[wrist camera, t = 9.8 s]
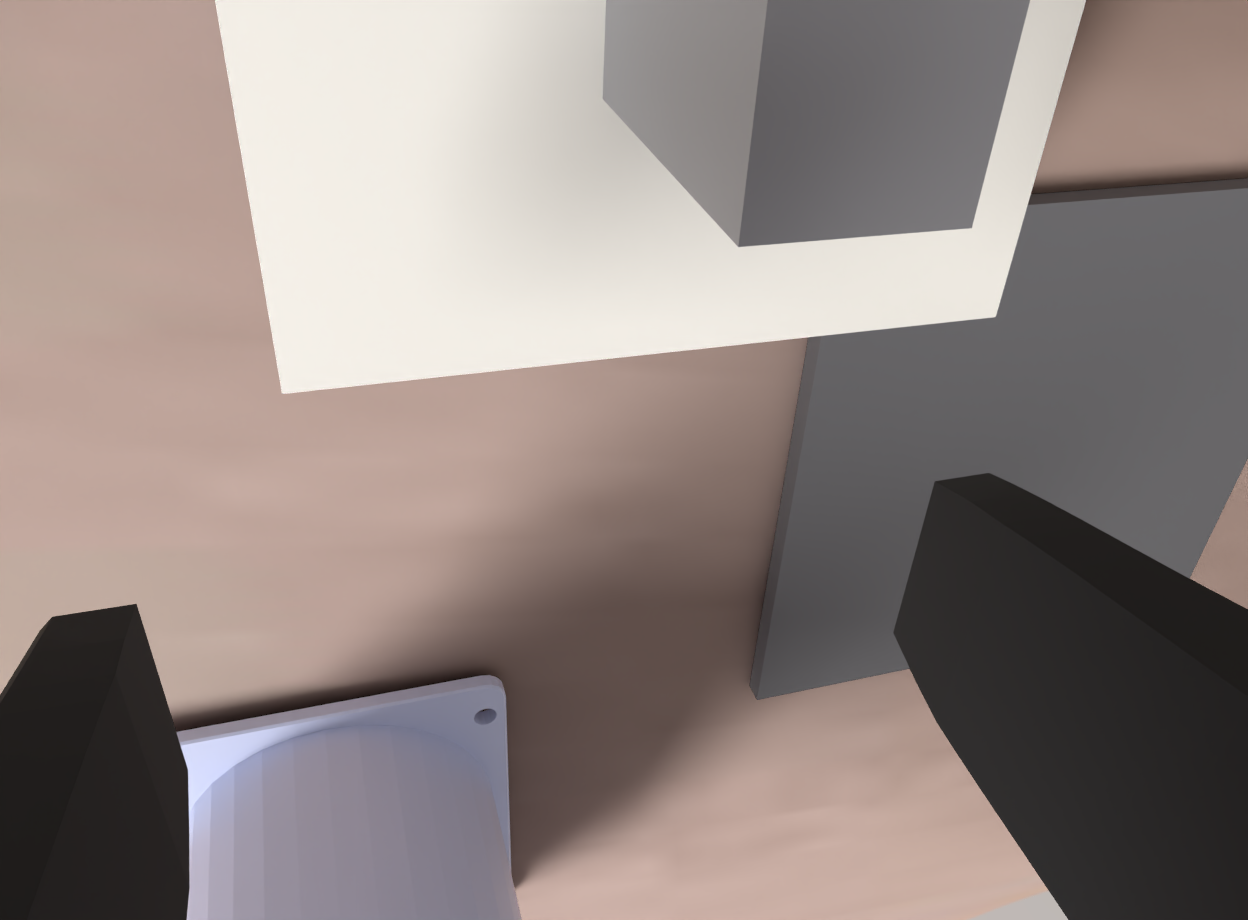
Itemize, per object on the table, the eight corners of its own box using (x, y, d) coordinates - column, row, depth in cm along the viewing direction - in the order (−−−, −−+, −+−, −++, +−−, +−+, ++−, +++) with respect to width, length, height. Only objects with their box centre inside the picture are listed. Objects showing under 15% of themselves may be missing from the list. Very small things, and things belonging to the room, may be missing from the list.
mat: (1159, 602, 30) (1171, 614, 30) (749, 685, 27) (757, 699, 26) (1364, 169, 23) (1384, 177, 22) (830, 208, 19) (842, 219, 19)
